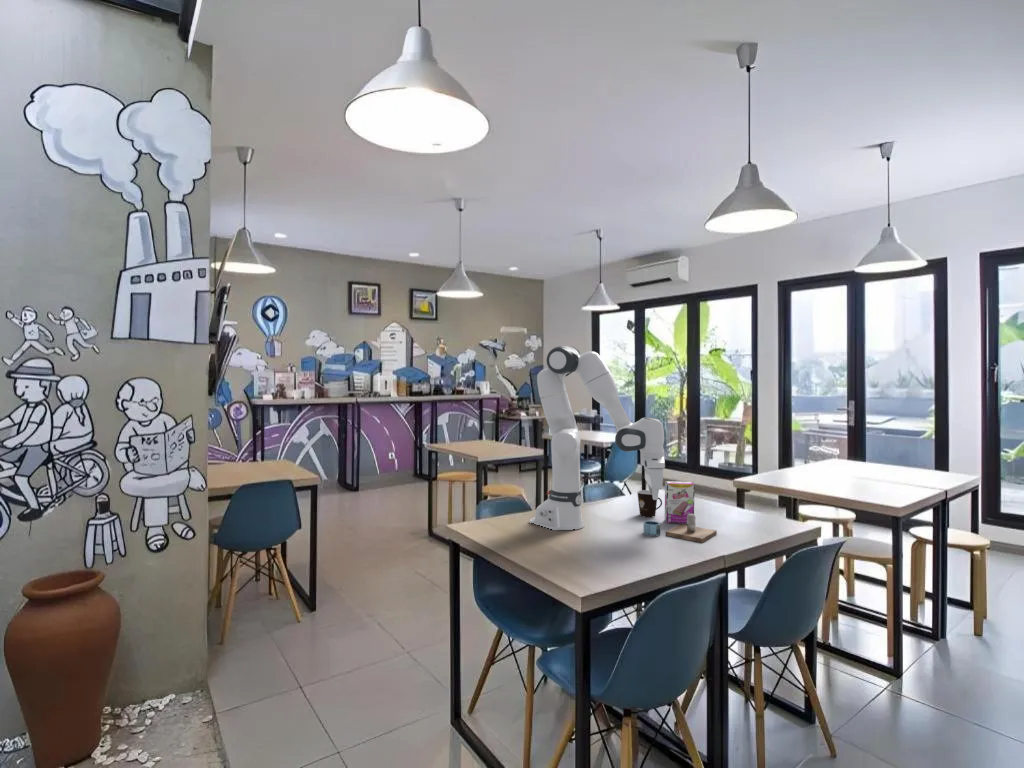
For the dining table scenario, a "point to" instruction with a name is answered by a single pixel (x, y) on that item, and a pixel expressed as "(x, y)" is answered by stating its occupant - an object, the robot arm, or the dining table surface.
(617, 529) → the dining table surface
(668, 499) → the candy bar box
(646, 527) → the blue faceted pot
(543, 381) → the robot arm
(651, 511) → the coffee mug
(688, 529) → the shaft stand
